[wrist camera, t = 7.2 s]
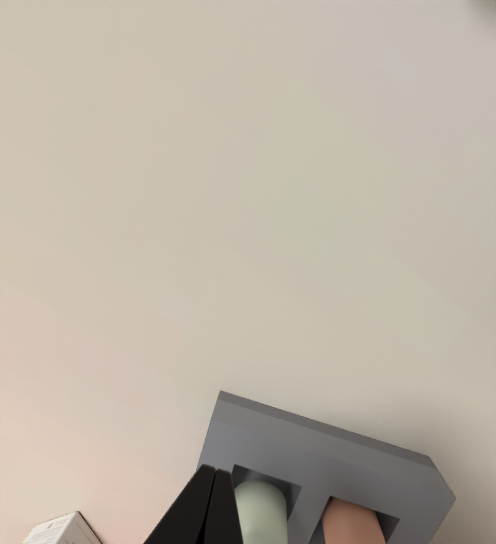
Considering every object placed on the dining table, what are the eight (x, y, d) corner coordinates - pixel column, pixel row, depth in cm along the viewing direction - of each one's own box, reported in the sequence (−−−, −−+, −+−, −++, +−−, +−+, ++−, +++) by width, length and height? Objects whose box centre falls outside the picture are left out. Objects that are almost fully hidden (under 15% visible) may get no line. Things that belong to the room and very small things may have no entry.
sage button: (293, 490, 18) (297, 548, 15) (277, 530, 19) (277, 593, 16) (239, 472, 18) (231, 526, 15) (225, 513, 19) (215, 571, 16)
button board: (429, 456, 20) (458, 501, 16) (343, 612, 24) (353, 671, 21) (220, 390, 20) (210, 421, 17) (173, 552, 25) (158, 601, 22)
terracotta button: (379, 493, 19) (399, 546, 16) (360, 530, 20) (376, 586, 17) (329, 476, 20) (339, 525, 16) (312, 514, 20) (319, 567, 17)
